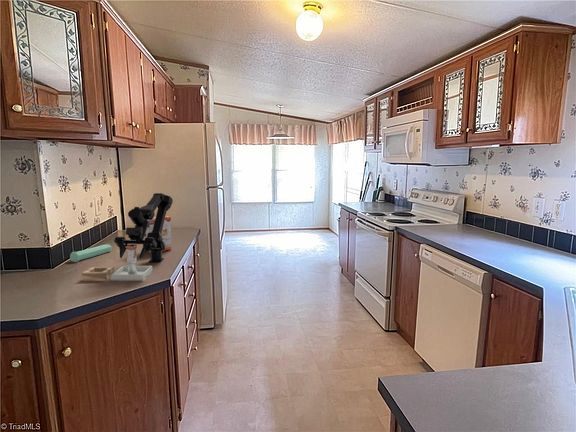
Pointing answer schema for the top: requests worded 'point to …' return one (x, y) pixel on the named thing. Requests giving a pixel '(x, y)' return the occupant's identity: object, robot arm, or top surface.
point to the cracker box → (165, 231)
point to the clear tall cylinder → (131, 259)
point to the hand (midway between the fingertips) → (130, 257)
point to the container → (90, 253)
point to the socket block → (97, 274)
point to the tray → (124, 276)
